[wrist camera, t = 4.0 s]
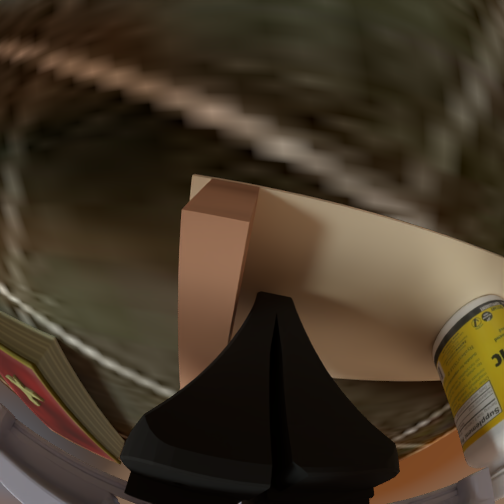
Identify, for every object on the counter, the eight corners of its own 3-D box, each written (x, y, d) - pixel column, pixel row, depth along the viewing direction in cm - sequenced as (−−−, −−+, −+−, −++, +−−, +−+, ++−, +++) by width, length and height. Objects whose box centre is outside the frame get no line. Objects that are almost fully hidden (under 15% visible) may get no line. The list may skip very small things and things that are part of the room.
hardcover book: (60, 409, 27) (49, 430, 23) (-14, 296, 16) (-38, 321, 13) (129, 440, 26) (119, 466, 22) (59, 330, 16) (30, 370, 12)
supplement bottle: (516, 293, 9) (590, 423, 1) (472, 360, 12) (514, 484, 4) (461, 285, 10) (551, 470, 1) (413, 364, 12) (448, 523, 4)
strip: (472, 375, 13) (486, 408, 10) (184, 348, 13) (166, 398, 11) (542, 274, 9) (569, 304, 6) (193, 173, 9) (154, 204, 6)
